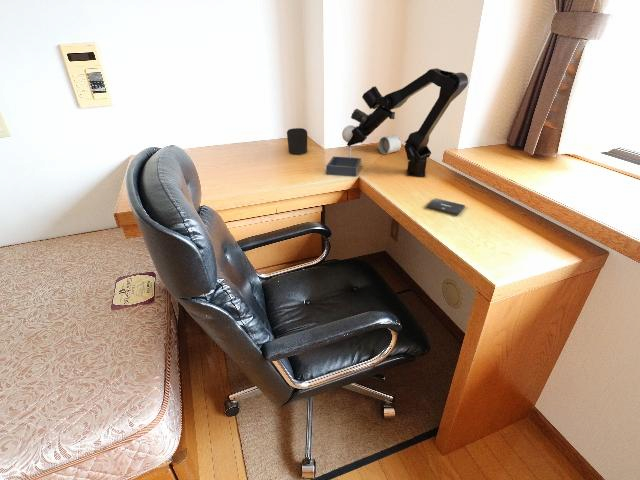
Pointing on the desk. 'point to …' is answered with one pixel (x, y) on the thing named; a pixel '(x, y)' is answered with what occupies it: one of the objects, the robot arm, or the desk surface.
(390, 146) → the ceramic mug
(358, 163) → the caddy
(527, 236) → the desk surface
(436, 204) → the solid state drive
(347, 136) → the lollipop
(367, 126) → the robot arm
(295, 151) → the pen holder
